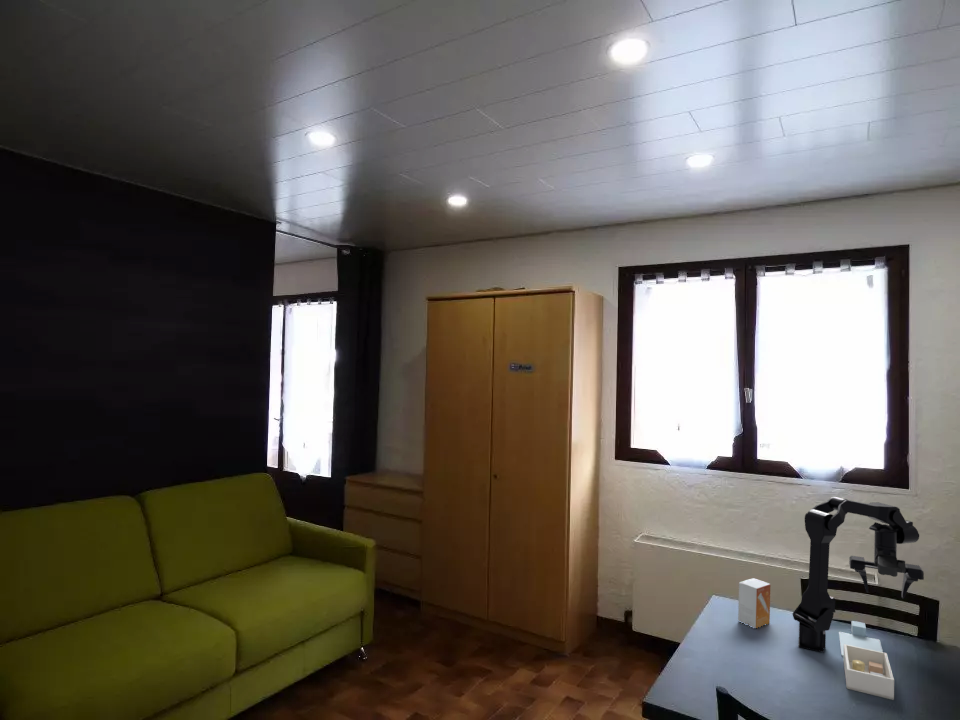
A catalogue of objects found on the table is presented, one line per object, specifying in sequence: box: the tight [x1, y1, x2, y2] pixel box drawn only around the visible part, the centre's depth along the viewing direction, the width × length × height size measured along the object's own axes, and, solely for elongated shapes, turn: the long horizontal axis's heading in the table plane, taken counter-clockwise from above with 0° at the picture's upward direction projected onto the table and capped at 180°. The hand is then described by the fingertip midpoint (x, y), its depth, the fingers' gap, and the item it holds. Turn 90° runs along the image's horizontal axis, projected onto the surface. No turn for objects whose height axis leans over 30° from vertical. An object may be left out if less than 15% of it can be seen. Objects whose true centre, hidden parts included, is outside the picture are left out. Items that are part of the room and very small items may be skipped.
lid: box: [838, 620, 884, 658], centre depth 175 cm, size 11×20×4 cm, turn 151°
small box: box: [737, 577, 772, 629], centre depth 190 cm, size 8×6×13 cm
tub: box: [843, 644, 895, 701], centre depth 157 cm, size 10×16×5 cm, turn 151°
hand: (884, 594), depth 183 cm, fingers open, 9 cm apart
